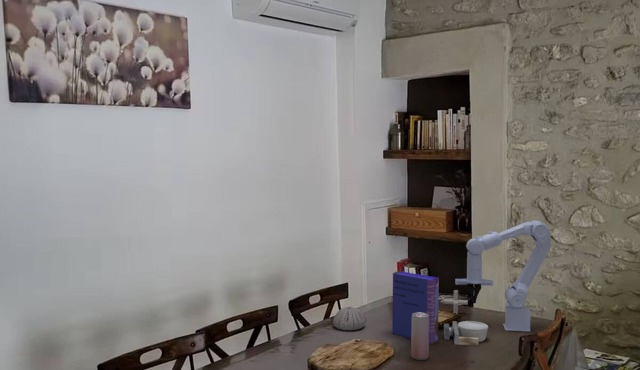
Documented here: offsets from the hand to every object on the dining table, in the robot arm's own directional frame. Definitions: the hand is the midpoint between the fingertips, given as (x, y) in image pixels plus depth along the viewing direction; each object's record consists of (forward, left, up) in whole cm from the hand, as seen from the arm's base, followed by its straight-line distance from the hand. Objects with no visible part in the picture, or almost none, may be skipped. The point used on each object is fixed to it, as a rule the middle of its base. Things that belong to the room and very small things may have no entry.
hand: (473, 302), depth 245 cm
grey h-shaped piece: (+10, +15, -10) cm, 20 cm away
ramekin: (+1, +15, -10) cm, 18 cm away
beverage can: (+21, +39, -10) cm, 45 cm away
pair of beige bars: (+3, +15, -10) cm, 18 cm away
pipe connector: (+6, -19, -10) cm, 22 cm away
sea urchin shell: (+49, +8, -10) cm, 51 cm away
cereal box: (+23, +17, -10) cm, 30 cm away
